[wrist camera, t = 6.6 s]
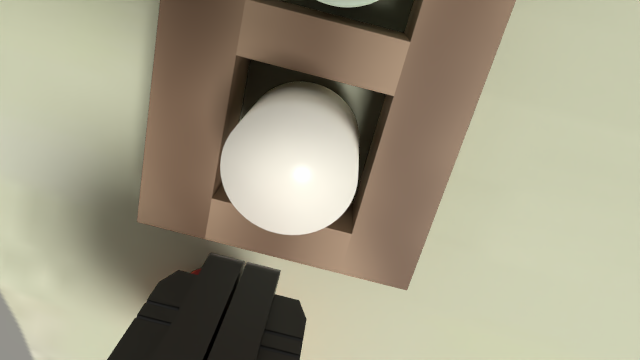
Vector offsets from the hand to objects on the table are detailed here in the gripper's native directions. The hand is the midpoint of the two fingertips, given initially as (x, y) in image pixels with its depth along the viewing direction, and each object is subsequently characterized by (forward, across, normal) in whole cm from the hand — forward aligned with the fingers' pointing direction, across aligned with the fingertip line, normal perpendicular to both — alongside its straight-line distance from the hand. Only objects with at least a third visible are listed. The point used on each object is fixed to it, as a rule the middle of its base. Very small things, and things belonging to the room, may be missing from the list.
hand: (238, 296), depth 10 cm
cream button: (+11, 0, 0) cm, 11 cm away
